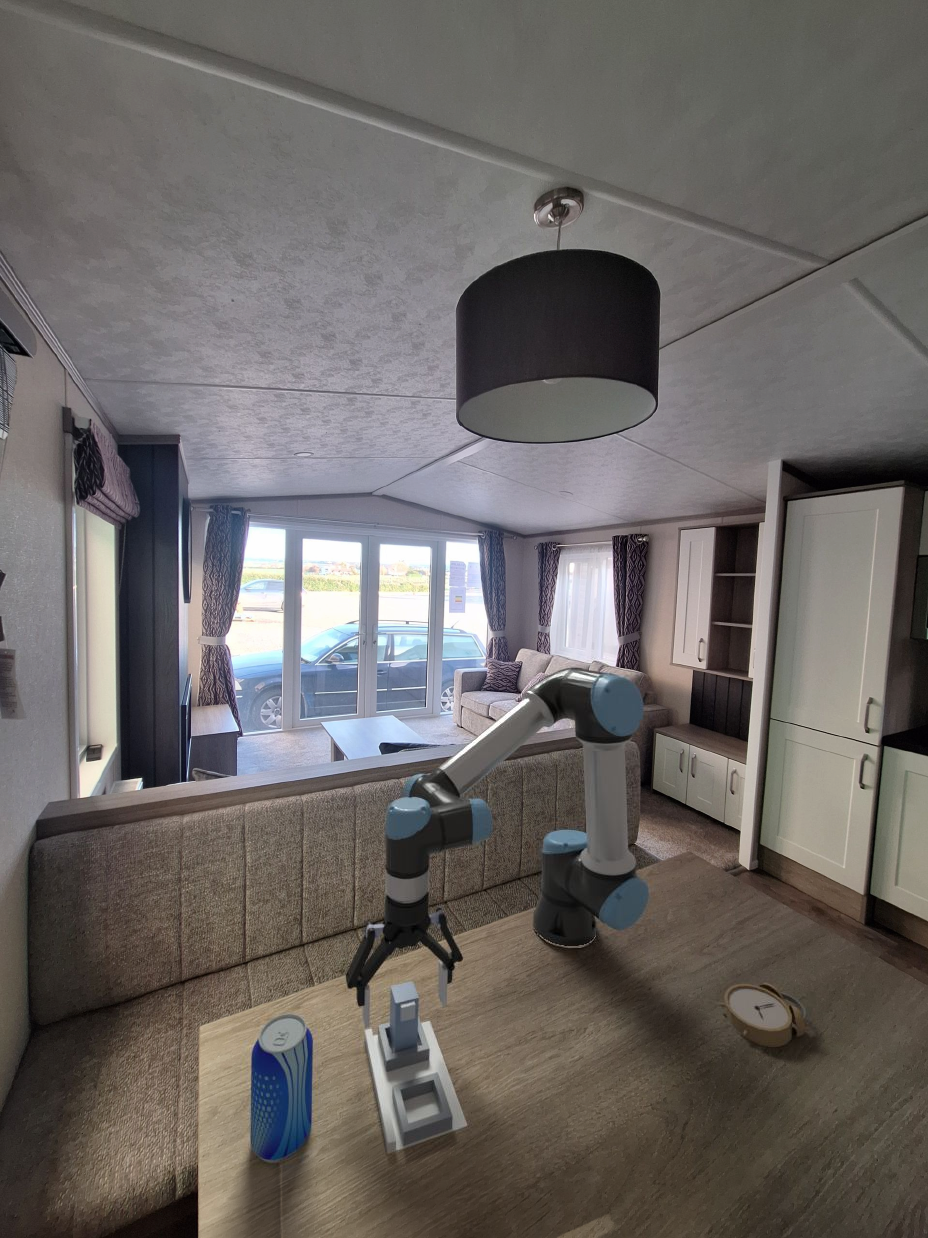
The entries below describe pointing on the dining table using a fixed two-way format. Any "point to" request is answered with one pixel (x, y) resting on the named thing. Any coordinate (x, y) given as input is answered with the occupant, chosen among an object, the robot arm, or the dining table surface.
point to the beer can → (281, 1088)
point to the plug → (403, 1017)
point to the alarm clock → (763, 1014)
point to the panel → (412, 1089)
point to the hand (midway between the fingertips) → (405, 1010)
